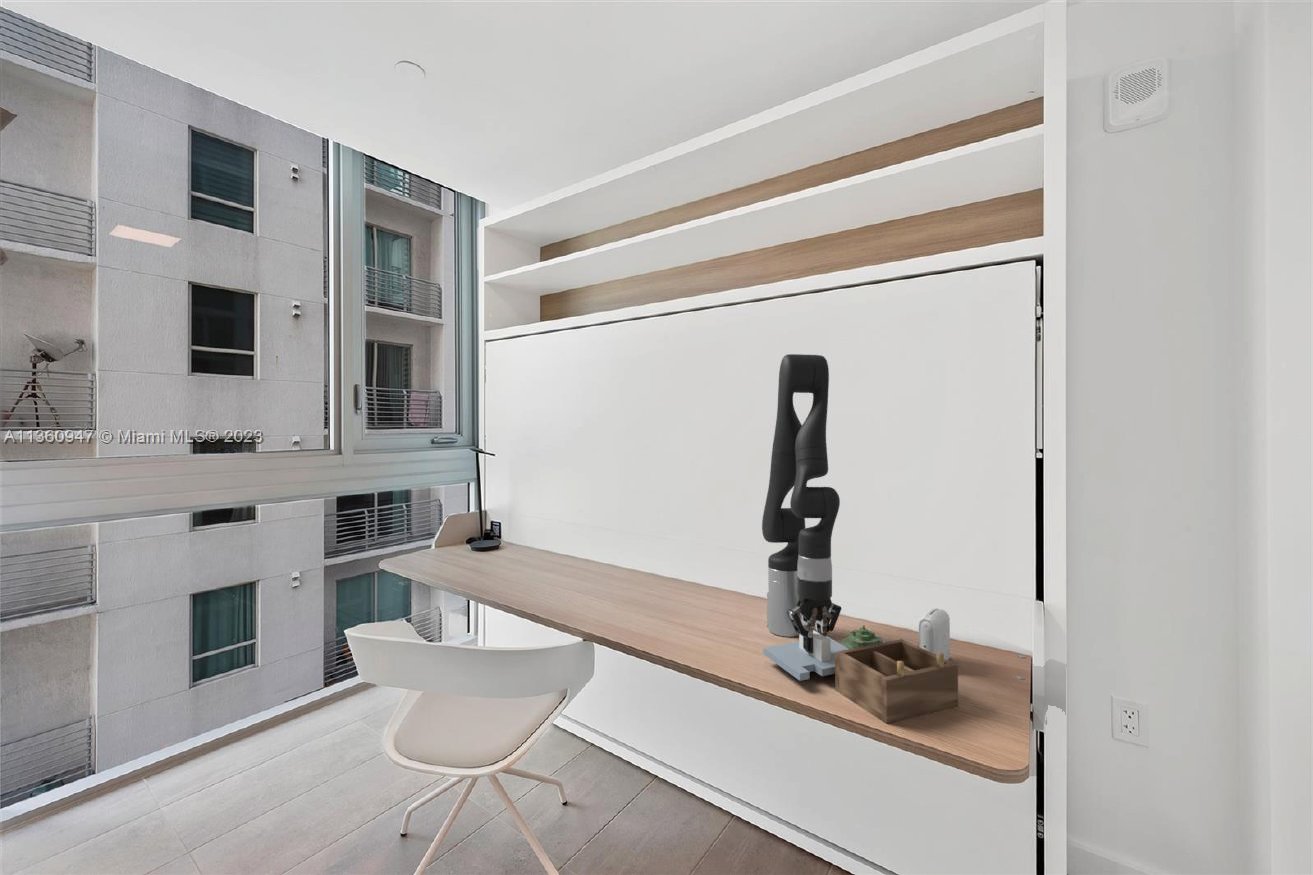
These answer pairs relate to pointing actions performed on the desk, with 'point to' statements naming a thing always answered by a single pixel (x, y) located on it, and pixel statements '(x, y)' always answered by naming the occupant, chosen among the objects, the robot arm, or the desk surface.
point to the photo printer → (935, 632)
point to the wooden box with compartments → (896, 680)
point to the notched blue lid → (806, 656)
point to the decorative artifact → (861, 638)
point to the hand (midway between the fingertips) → (814, 650)
